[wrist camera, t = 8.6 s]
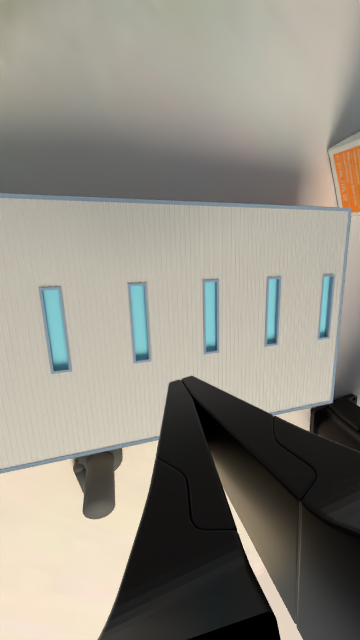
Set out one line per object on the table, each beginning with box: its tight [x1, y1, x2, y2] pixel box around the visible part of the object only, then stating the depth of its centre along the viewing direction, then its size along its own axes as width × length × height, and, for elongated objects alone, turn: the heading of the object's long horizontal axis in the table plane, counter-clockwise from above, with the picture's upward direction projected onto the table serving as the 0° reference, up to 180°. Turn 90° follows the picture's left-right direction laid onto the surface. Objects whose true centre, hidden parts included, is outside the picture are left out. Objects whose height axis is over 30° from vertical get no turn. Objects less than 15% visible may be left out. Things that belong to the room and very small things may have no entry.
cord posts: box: [73, 448, 122, 519], centre depth 24 cm, size 8×24×5 cm, turn 99°
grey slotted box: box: [0, 193, 352, 474], centre depth 17 cm, size 30×14×8 cm, turn 90°
